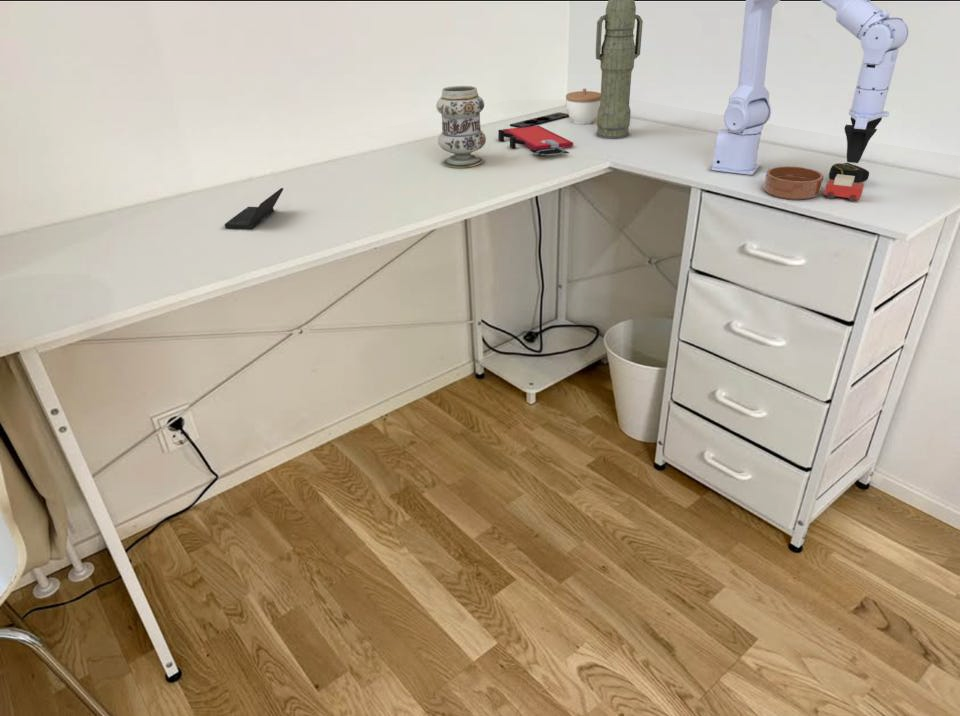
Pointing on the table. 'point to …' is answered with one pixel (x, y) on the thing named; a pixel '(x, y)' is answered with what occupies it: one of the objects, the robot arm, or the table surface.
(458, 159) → the apothecary jar
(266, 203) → the handheld gaming console
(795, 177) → the bowl
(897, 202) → the table surface
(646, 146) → the table surface
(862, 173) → the tape measure
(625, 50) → the green vase
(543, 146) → the red board with handle
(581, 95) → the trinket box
